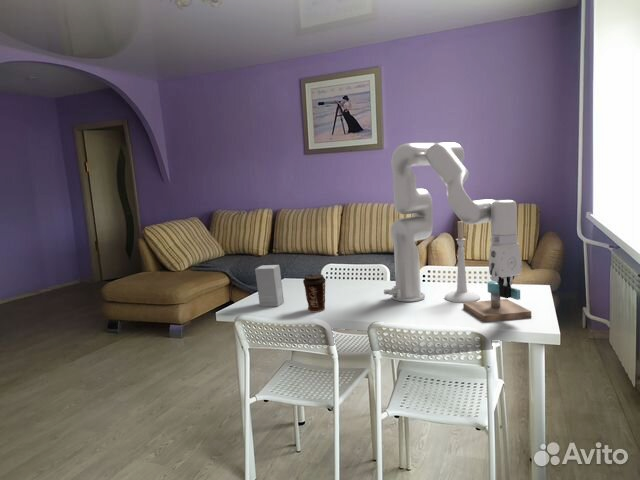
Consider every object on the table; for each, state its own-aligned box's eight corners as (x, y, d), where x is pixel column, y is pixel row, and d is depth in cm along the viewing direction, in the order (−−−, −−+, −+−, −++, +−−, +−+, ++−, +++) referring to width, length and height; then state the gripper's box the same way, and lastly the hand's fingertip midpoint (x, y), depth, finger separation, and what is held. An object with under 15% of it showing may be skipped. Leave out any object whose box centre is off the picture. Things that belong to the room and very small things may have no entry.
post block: (483, 321, 147) (483, 300, 146) (463, 308, 163) (462, 289, 162) (531, 317, 149) (531, 296, 148) (506, 304, 165) (506, 285, 164)
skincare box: (284, 302, 186) (281, 264, 184) (277, 307, 180) (274, 267, 178) (265, 302, 189) (262, 264, 187) (257, 306, 183) (254, 267, 181)
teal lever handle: (484, 290, 157) (484, 281, 156) (497, 289, 158) (497, 280, 158) (511, 300, 143) (511, 290, 143) (525, 298, 145) (525, 288, 144)
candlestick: (470, 304, 167) (468, 222, 164) (438, 299, 176) (436, 221, 172) (485, 296, 177) (484, 218, 173) (454, 292, 185) (452, 218, 182)
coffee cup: (306, 307, 178) (303, 274, 176) (327, 306, 177) (325, 272, 176) (304, 313, 169) (302, 279, 167) (327, 312, 169) (325, 277, 167)
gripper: (496, 243, 137) (497, 303, 139) (530, 237, 144) (531, 295, 146) (477, 241, 144) (478, 298, 146) (511, 236, 151) (512, 291, 153)
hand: (505, 297), depth 146 cm, fingers closed
